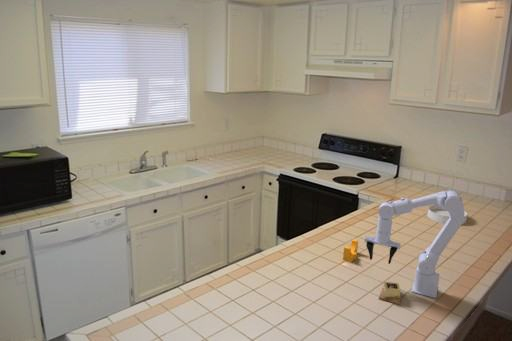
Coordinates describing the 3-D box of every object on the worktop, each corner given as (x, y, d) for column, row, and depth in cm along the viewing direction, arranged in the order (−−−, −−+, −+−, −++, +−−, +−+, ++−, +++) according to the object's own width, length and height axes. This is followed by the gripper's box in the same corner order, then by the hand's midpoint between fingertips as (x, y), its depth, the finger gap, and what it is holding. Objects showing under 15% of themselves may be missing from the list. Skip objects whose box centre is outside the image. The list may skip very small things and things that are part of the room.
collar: (397, 291, 177) (398, 283, 176) (399, 299, 171) (400, 290, 170) (383, 290, 178) (384, 281, 177) (384, 297, 172) (385, 288, 171)
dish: (432, 209, 281) (433, 202, 280) (469, 217, 269) (470, 210, 267) (422, 219, 263) (424, 211, 262) (462, 228, 251) (463, 220, 250)
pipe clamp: (351, 262, 204) (352, 249, 202) (342, 260, 206) (344, 247, 204) (360, 253, 213) (361, 241, 212) (352, 251, 216) (353, 239, 214)
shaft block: (402, 295, 177) (403, 285, 175) (399, 304, 170) (400, 294, 168) (382, 289, 180) (383, 280, 179) (378, 299, 173) (379, 289, 172)
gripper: (403, 231, 181) (399, 260, 184) (368, 224, 187) (365, 253, 190) (400, 237, 175) (396, 267, 178) (364, 229, 181) (361, 259, 184)
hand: (380, 260), depth 184 cm, fingers open, 7 cm apart
